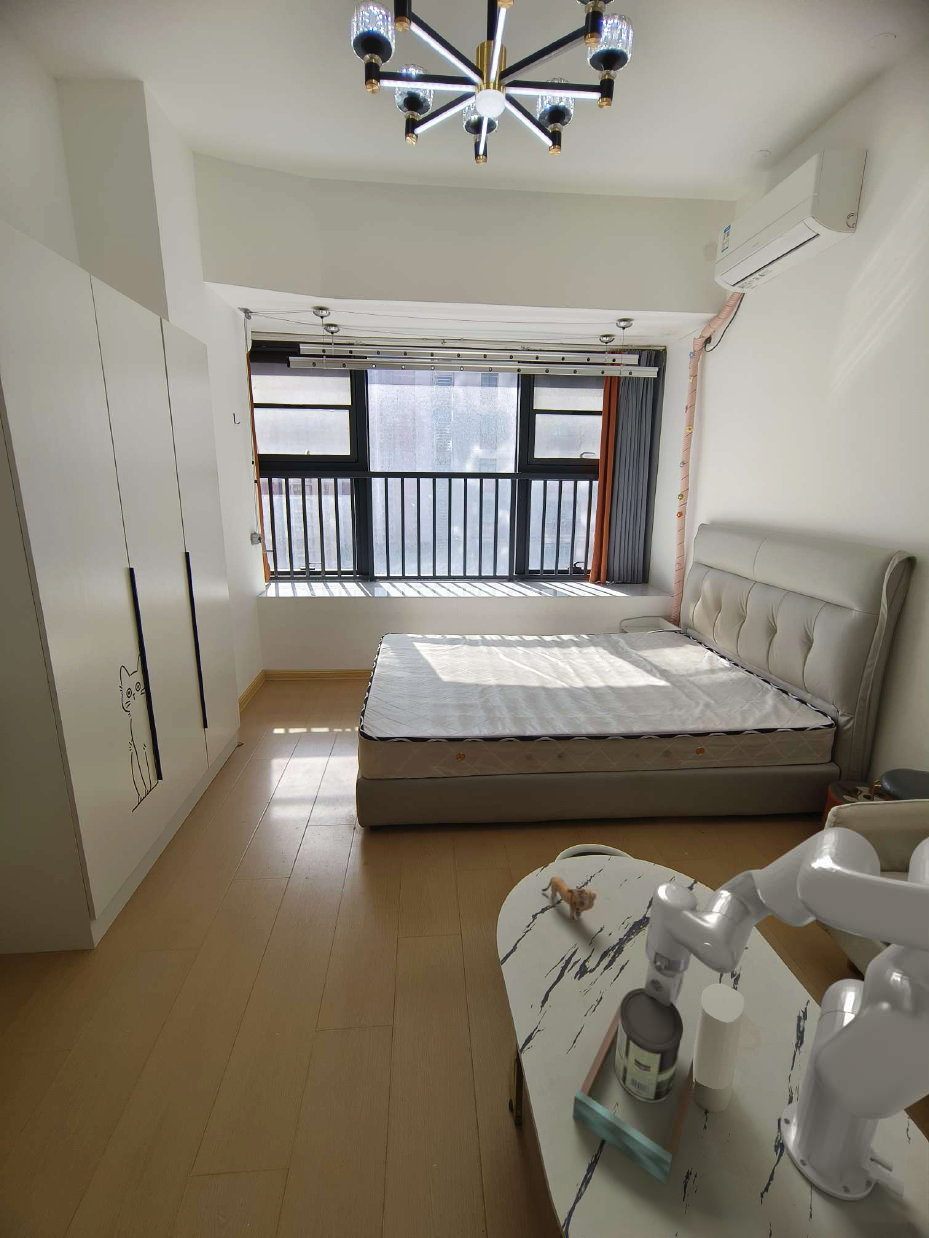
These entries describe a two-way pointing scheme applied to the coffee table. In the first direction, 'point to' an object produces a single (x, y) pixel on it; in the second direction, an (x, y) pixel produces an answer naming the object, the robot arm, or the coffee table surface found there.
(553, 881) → the lion figurine
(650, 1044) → the coffee can
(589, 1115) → the bay
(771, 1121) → the coffee table surface
